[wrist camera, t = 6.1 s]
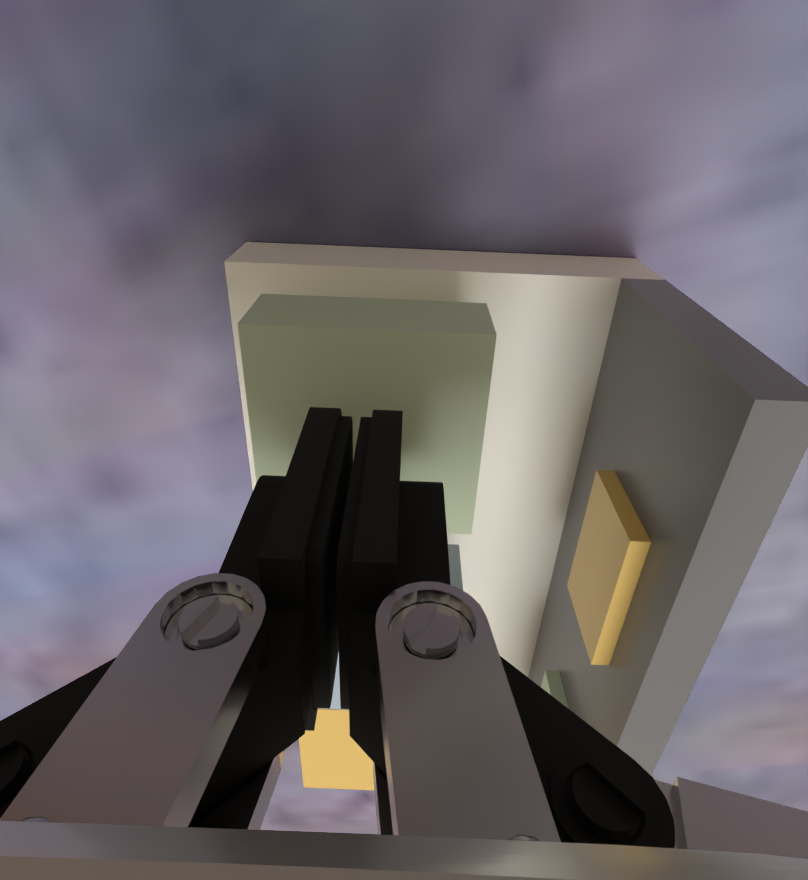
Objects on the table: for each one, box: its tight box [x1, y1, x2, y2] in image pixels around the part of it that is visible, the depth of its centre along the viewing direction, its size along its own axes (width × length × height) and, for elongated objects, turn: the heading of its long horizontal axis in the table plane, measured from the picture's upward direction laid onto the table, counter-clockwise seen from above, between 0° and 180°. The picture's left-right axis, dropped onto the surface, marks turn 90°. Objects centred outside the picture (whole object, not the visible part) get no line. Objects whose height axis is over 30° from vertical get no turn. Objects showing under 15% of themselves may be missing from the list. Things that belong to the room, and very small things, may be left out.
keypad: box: [224, 242, 808, 775], centre depth 16 cm, size 18×10×8 cm, turn 178°
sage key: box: [237, 294, 497, 534], centre depth 12 cm, size 5×5×2 cm
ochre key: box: [299, 708, 374, 790], centre depth 20 cm, size 5×5×2 cm
